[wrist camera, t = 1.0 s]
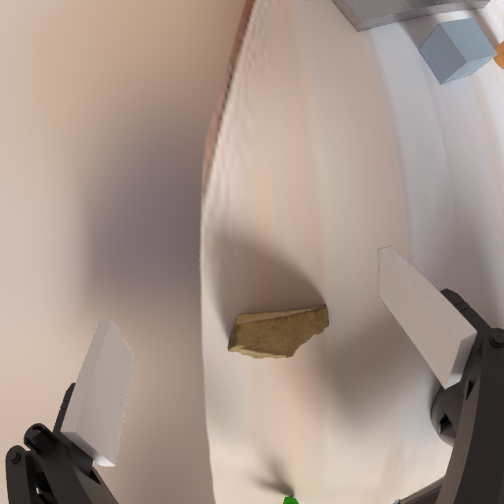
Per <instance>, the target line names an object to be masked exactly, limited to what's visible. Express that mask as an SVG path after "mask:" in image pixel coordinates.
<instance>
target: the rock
mask: <svg viewBox="0 0 504 504" xmlns="http://www.w3.org/2000/svg"><path fill="white" fill-rule="evenodd" d="M328 326H329V319H328V310H327V306H326V305H320V306H314V307H309V308H304V309H296V310H291V311H283V312H279V311H274V312H262V313H255V314H251V313H245V314H240V315H238V317H237V319H236V322H235V324H234V326H233V330H232V332H231V336H230V339H229V344H228V351H232V352H234V351H235V352H239V353H241V354H243V355H248V356H252V357H254V358H264V357H273V358H281V357H286V358H287V357H291V356H293V355H294V353H295V351H296V350H297V349H298V347H299V346H300V345H302V344H304V343H305V342H306V341H307V340H309V339H310V338H311V337H312V335H314V334H320V333H322V332H323V331H324V328H326V327H328Z"/></svg>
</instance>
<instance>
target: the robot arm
mask: <svg viewBox="0 0 504 504" xmlns="http://www.w3.org/2000/svg"><path fill="white" fill-rule="evenodd" d="M378 282H379V297H380V299H381V300H382V301H383V303H384V304H385V305H386V307H387V308H388V309H389V311H390V312H391V313H392V315H393V316H394V317H395V319H396V320H397V321H398V323H399V324H400V325H401V327H402V328H403V330H404V331H405V332H406V334H407V335H408V336H409V338H410V339H411V341H412V342H413V343H414V345H415V346H416V348H417V349H418V351H419V352H420V353H421V355H422V356H423V358H424V359H425V361H426V362H427V363H428V365H429V366H430V368H431V369H432V371H433V372H434V374H435V375H436V377H437V378H438V380H439V381H440V383H441V384H442V386H441V388H440V390H439V392H438V394H437V396H436V398H435V401H434V403H433V407H432V413H431V419H432V424H433V427H434V429H435V430H436V432H437V434H438V435H439V437H440V438H441V439H442V440H443V441H444V442H445V443H447V444H449V445H450V446H452V447H453V451H452V454H451V458H450V461H449V465H448V468H447V471H446V475H445V476H444V477H442V478H440V479H439V480H437V481H435V482H434V483H432V484H430V485H428V486H427V487H425V488H423V489H421V490H419V491H418V492H416V493H414V494H412V495H410V496H408V497H406V498H404V499H402V500H400V499H398V500H396V501H395V502H394V503H393V504H504V330H503V329H499V328H491V327H490V326H489V325H488V324H487V323H486V322H485V321H484V320H483V319H482V318H481V317H480V316H479V315H478V314H477V313H476V312H475V311H474V310H473V309H472V308H470V306H469V305H468V304H467V303H466V302H464V300H463V299H462V298H461V297H460V296H459V295H458V294H457V293H455V292H453V291H451V290H449V289H444V290H442V291H440V292H439V291H438V290H437V289H436V288H435V287H434V286H433V285H432V284H431V283H430V282H429V281H428V280H427V279H426V278H425V277H424V276H423V275H422V274H421V273H420V272H419V271H418V270H417V269H416V268H415V267H414V266H413V265H412V264H411V263H410V262H408V261H407V260H406V259H405V258H404V257H403V256H402V255H401V254H400V253H399V252H398V251H397V250H395V249H394V248H393V247H392V246H389V247H386V248H382V249H379V250H378ZM135 360H136V356H135V355H134V353H133V352H132V350H131V349H130V347H129V345H128V344H127V342H126V340H125V339H124V337H123V336H122V334H121V332H120V331H119V329H118V327H117V325H116V324H115V322H114V320H113V319H108V320H103V321H100V322H99V325H98V327H97V330H96V332H95V334H94V337H93V340H92V342H91V344H90V347H89V349H88V352H87V355H86V357H85V360H84V362H83V365H82V368H81V371H80V373H79V376H78V379H77V382H76V383H72V384H71V385H70V387H69V388H68V390H67V391H66V393H65V396H64V399H63V403H62V405H61V407H60V408H61V410H59V414H58V417H57V420H56V423H55V426H54V429H53V432H51V431H50V430H49V429H48V428H47V427H46V426H44V425H43V424H41V423H37V424H34V425H32V426H31V427H30V428H29V429H28V430H27V431H26V433H25V436H24V444H25V445H26V446H27V447H28V448H29V449H31V450H30V451H26V450H25V449H24V448H23V447H21V446H19V445H16V446H14V447H12V448H10V450H9V451H8V453H7V455H6V460H5V462H6V480H7V491H8V500H9V504H119V503H118V502H117V500H116V499H115V498H114V496H113V495H112V493H111V492H110V491H109V489H108V487H107V486H106V484H105V483H104V481H103V480H102V478H101V477H100V475H99V474H98V472H97V470H96V469H95V468H94V467H93V466H92V463H93V460H94V461H96V462H97V463H98V464H100V465H101V466H116V463H117V455H118V449H119V443H120V437H121V431H122V425H123V419H124V414H125V408H126V403H127V398H128V393H129V388H130V383H131V378H132V374H133V369H134V365H135ZM36 488H38V491H39V494H38V493H37V490H36Z"/></svg>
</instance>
